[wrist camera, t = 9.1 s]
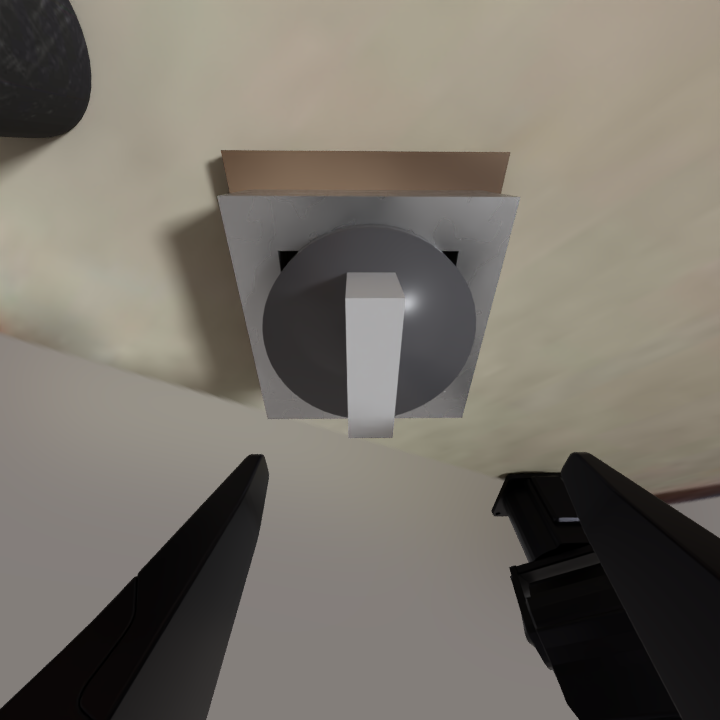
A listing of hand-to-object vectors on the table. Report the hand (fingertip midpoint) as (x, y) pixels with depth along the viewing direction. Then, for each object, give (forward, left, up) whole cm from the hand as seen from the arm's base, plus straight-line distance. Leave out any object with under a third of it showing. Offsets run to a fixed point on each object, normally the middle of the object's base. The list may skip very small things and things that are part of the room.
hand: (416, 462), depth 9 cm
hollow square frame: (+1, +1, -11) cm, 11 cm away
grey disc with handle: (+1, +1, -10) cm, 10 cm away
